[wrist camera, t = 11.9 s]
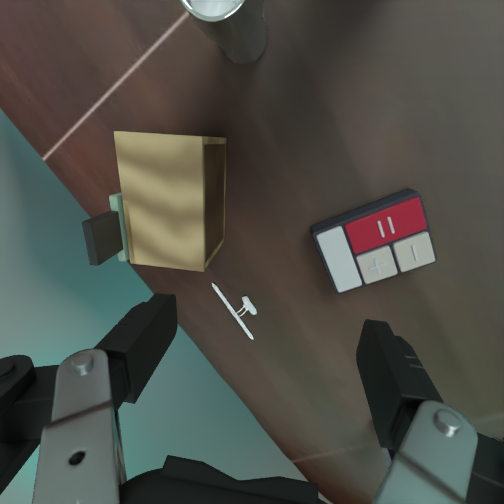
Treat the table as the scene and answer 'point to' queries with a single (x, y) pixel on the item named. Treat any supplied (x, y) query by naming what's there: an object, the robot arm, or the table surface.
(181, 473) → the robot arm
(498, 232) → the table surface
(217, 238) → the cabinet
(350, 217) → the calculator
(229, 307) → the picture light
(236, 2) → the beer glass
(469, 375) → the table surface
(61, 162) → the table surface
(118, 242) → the sliding door
